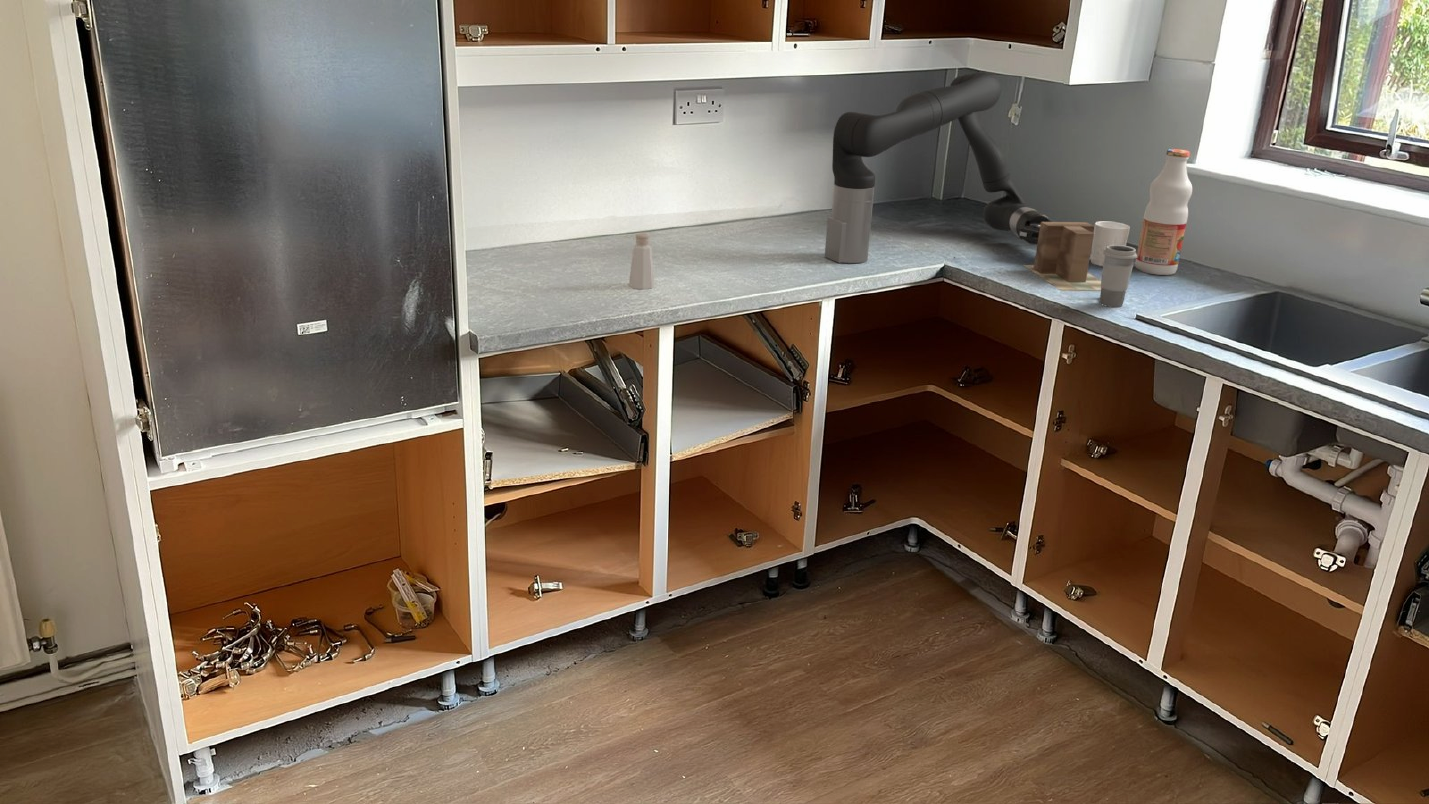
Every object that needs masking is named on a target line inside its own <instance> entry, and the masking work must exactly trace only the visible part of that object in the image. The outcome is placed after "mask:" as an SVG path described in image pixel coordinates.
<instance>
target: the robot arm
mask: <svg viewBox="0 0 1429 804" xmlns="http://www.w3.org/2000/svg"><path fill="white" fill-rule="evenodd" d="M1001 93H1002V84H1001V82H1000V80H999V78H998V77H997V76H996V75H994V74H993V73H991V72H988V71H979V72H974V73H973V72H972V73H968V74H963V75H959V76H957V77H955V78H954V79H953V80H952V81H951V83H950V85H949V86H942V87H935V88H931V89H927V90H923V91H919V92H918V93H917V92H916V93H915V94H912V95H910V96H907V97H905V98H903V100H902V101H900V103H899V104H898V105H897V108H896V110H895V111H892V112H889V113H886V114H881V115H877V114H876V115H873V114H867V113H862V112H856V111H847V112H845V113H842V114H841V115H840V116H839V118H837V121H836V123H835V126H834V131H833V137H832V168H831V169H832V173H833V177H834V178H833V180H834V183H833V193H832V195H833V196H832V207H831V216H827V223H826V234H825V235H826V236H825V248H824V249H825V250H824V258H825V257H826V258H827V259H828V260H831V261H834V262H836V263H839V264H840V263H845V264H846V263H848V264H859V263H865V262H867V261H868V257H869V249H870V248H869V247H870V237H871V225H872V216H873V215H872V214H873V205H874V197H875V195H874V194H875V185H876V174H875V173H874V172H873V171H872V170H871V169H869V168H868V167H867V166H866V165H865V163H864V161H863V157H864V158H871V157H876V156H878V155H880V154H882V153H883V152H886V151H887V150H889V149H891V148H893V146H894V147H895V146H896V145H898V144H899V143H901V142H904V141H908V140H911V139H913V138H915V137H917V136H920V135H923V134H925V133H928V132H932V131H935V130H936V129H938V128H941V127H942V126H945V125H947V124H949V123H952V122H953V121H956V120H958V122H959V124H960V127H961V129H962V131H963V133H964V135H965V138H966V140H967V142H968V144H969V146H970V149H971V150H972V152H973V156H974V158H975V161H976V164H977V168H978V171H979V176H980V179H981V182H982V185H983V190H984V191H985V192H987V193H990V194H991V193H997V192H998V193H999V192H1004V193H1005V195H1003V196H1002V197H999V198H997V199H994V200H991V201H990V202H988V203H987V204H986V205H985V206H984V209H983V213H982V214H983V219H984V221H985V222H986V224H987V225H988V226H989V227H991V228H992V229H994V230H997V231H1005V232H1011V233H1014V235H1016V237H1018V239H1020V240H1023V241H1024V242H1027V243H1028V244H1030V245H1037V244H1038V238H1039V231H1040V225H1041V222H1052V220H1051V219H1050V217H1049V216H1047V214H1044V213H1042V212H1040V211H1039V210H1036V209H1035V208H1032V207H1029V206H1027V205H1026V201H1025V200H1024V198H1023V197H1022V195H1021V194H1020V192H1019V190H1018V188H1017V187H1016V186H1015V184H1014V182H1013V179H1012V176H1011V172H1010V169H1009V166H1008V162H1007V158H1006V155H1005V153H1004V151H1003V150H1002V148H1001V147H1000V145H999V144H998V143H997V142H996V140H995V139H994V138H993V137H992V136H991V135H990V134H989V132H988V131H987V129H986V128H985V127H984V125H983V124H982V121H981V120H980V116H979V113H978V112H985V111H988V110H990V109H992V108H994V106H996V104H997V103H998V101H999V100H1000V97H1001Z"/></svg>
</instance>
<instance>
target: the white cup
mask: <svg viewBox="0 0 1429 804" xmlns="http://www.w3.org/2000/svg"><path fill="white" fill-rule="evenodd" d="M1094 226H1095V227H1094V237H1093V243H1092V249H1091V254H1090V255H1091V256H1090V263H1091V264H1093V265H1097V266H1099V267H1103V262H1104V260H1105V255H1104V254H1103V252H1104V250H1105V249H1106V247H1107V246H1108V245H1124V246H1127V241H1128V238H1129V233H1130V229H1131V226H1130V225H1128V224H1125V223H1122V222H1117V221H1106V220H1105V221H1103V220H1102V221H1100V220H1099V221H1096V222H1095V223H1094Z"/></svg>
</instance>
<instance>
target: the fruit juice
mask: <svg viewBox="0 0 1429 804" xmlns="http://www.w3.org/2000/svg"><path fill="white" fill-rule="evenodd" d="M1190 155H1191V151H1189V150H1186V149H1179V148H1177V149H1176V148H1169V149H1168V150H1166V155H1165V157H1166V161H1165V163H1164V166H1163V168H1162V169H1161V171H1160V173H1158V175H1157V176H1156V177H1155V178H1154V179H1153V181H1152V182H1151V184H1150V187H1149V202H1148V203H1147V205H1146V206H1145V210H1144V215H1143V219H1142V224H1141V230H1140V234H1139V235H1140V236H1139V240H1138V246H1137V250H1136V254H1137V258H1135V260H1134V264H1135V265H1134V268H1135V269H1136V270H1139V271H1141V272H1142V273H1146V274H1149V275H1158V276H1171V275H1175V274H1176V272H1177V270H1178V267H1179V261H1180V258H1181V257H1180V256H1181V253H1182V248H1183V242H1184V237H1185V233H1186V232H1185V231H1186V228H1187V223H1188V217H1189V207H1188V204H1189V202H1190V199H1191V197H1192V195H1193V185H1192V183H1191V181H1190V178H1189V176H1188V168H1187V167H1188V166H1187V164H1188V163H1187V162H1188V160H1189V158H1190Z"/></svg>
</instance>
